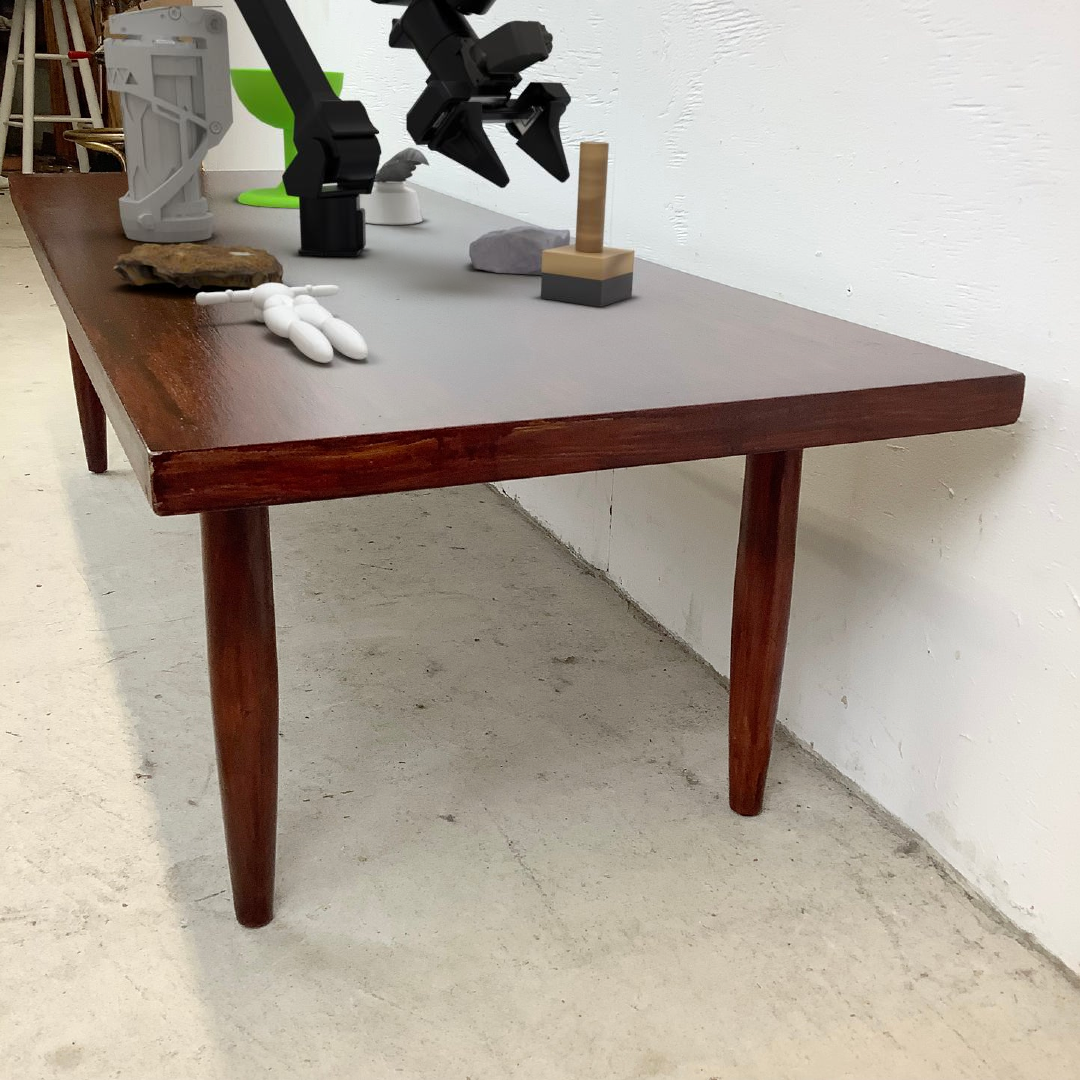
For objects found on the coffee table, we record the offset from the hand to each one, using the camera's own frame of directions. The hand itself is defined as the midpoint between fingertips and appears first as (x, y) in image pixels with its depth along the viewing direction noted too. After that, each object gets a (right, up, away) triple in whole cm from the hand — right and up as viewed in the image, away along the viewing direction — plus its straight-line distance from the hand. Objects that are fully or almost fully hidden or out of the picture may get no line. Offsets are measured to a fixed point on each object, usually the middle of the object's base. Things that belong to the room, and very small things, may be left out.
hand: (537, 182), depth 110 cm
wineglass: (-36, +16, +62) cm, 74 cm away
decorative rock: (-31, -11, -2) cm, 33 cm away
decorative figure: (-18, -19, -20) cm, 33 cm away
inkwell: (-18, +7, +43) cm, 47 cm away
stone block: (-2, -4, +16) cm, 17 cm away
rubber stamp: (+5, -11, 0) cm, 12 cm away
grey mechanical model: (-42, +2, +27) cm, 50 cm away
